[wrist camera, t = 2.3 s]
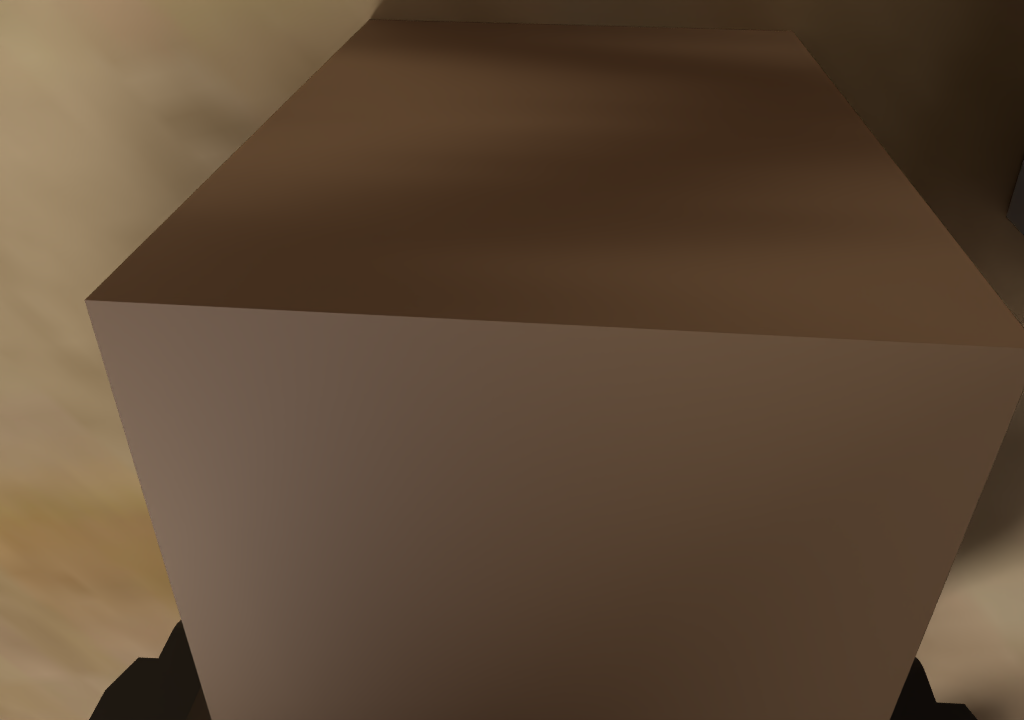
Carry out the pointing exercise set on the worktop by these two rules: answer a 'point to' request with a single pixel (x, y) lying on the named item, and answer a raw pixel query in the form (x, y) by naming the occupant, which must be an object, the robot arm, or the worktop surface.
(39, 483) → the worktop surface
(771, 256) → the brown wooden bar
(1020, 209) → the endcap
